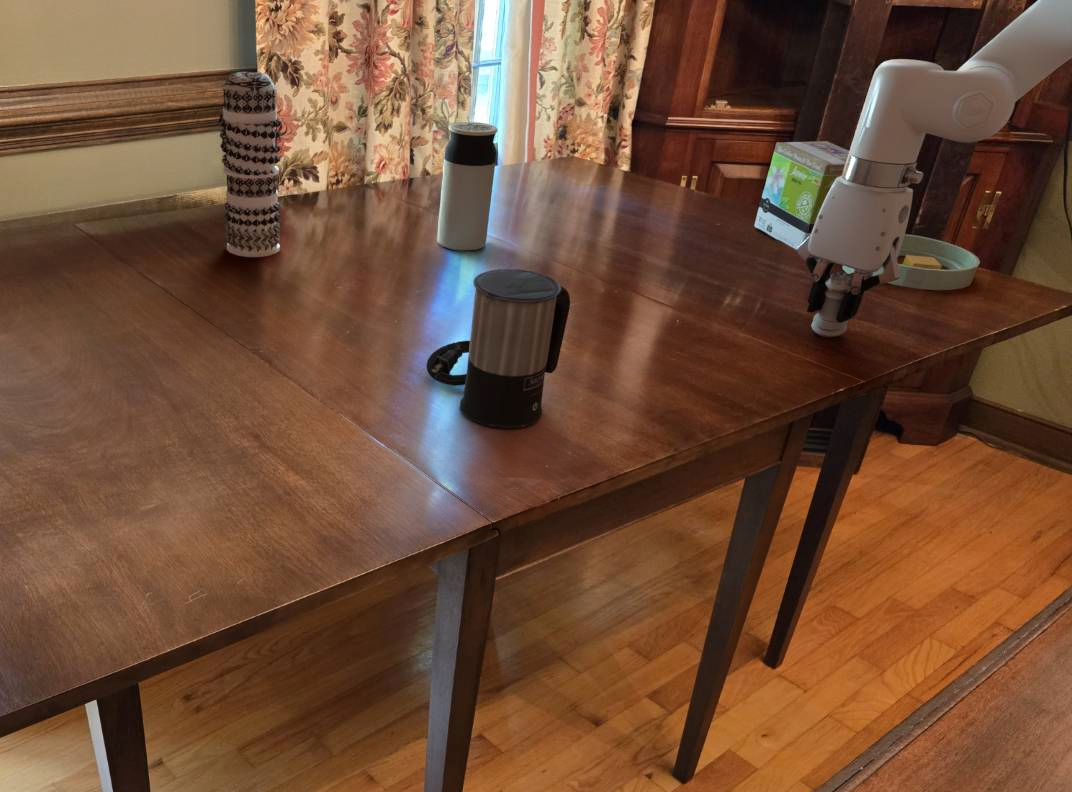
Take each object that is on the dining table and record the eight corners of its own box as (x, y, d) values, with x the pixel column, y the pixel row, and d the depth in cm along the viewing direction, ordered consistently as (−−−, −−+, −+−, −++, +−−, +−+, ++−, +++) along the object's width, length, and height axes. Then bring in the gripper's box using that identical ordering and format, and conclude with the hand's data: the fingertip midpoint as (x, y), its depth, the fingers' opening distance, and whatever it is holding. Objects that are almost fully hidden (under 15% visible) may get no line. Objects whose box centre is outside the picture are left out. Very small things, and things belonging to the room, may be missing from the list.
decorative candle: (260, 262, 146) (256, 82, 132) (212, 250, 150) (203, 74, 136) (294, 246, 152) (294, 74, 138) (247, 235, 156) (242, 66, 142)
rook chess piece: (809, 320, 132) (821, 267, 127) (845, 320, 131) (858, 268, 125) (811, 338, 129) (822, 285, 124) (847, 339, 128) (860, 286, 123)
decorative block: (931, 292, 144) (942, 265, 142) (903, 289, 145) (913, 263, 142) (924, 283, 147) (934, 257, 145) (896, 280, 148) (906, 254, 146)
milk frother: (525, 438, 103) (546, 305, 94) (392, 404, 108) (401, 275, 100) (563, 388, 113) (585, 265, 105) (440, 359, 119) (451, 240, 110)
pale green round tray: (988, 285, 149) (1000, 256, 147) (934, 309, 140) (946, 279, 137) (875, 253, 161) (885, 226, 158) (818, 272, 151) (827, 244, 149)
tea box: (750, 228, 170) (774, 139, 162) (801, 226, 172) (827, 139, 164) (798, 255, 158) (827, 162, 150) (852, 254, 160) (884, 161, 152)
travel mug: (488, 252, 154) (502, 133, 143) (438, 251, 153) (449, 131, 143) (482, 237, 160) (495, 122, 150) (435, 235, 160) (445, 120, 150)
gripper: (959, 183, 114) (903, 329, 125) (829, 154, 125) (788, 291, 135) (929, 192, 110) (874, 342, 121) (798, 161, 121) (758, 301, 131)
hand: (829, 313), depth 128 cm, fingers closed on rook chess piece, 3 cm apart
